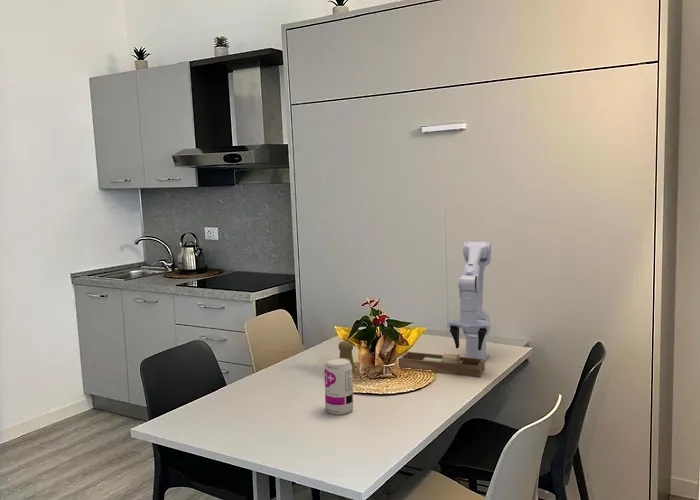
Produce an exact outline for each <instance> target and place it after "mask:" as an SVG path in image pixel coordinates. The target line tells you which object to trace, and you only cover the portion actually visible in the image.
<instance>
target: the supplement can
mask: <svg viewBox="0 0 700 500" xmlns="http://www.w3.org/2000/svg"><path fill="white" fill-rule="evenodd" d="M353 381H354V380H353V374H352V365H351V363H350V360H348V359H345V358H339V357H334V358H329V359H328V360H326V362H325V364H324V400H325V401H324V403H325V410H326V411H327V412H328V413H329V414H331V415H334V416H335V415H336V416H337V415H338V416H340V415H341V416H342V415H347V414H349V413H351V411H352V410H353V409H354V393H353V391H354V390H353V384H354V383H353Z"/></svg>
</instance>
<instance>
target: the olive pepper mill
mask: <svg viewBox="0 0 700 500" xmlns="http://www.w3.org/2000/svg"><path fill="white" fill-rule="evenodd" d="M346 341H347V340H343V341H340V342H339V343H338V350H339V357H338V358H345V359H348V360H350V363H351V365H352V375H353V374H355V372H356V371H355V364H354V357H353V349H354V344H353V343H352V344H353V345H352V344H350V343H348V342H346Z"/></svg>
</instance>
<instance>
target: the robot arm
mask: <svg viewBox="0 0 700 500" xmlns="http://www.w3.org/2000/svg"><path fill="white" fill-rule="evenodd" d="M462 249H463V250H462V254H463V258H464V261H465V264H464V266H463V270H462V274H461V276H458V281H457V283H458V284H457V285H458V287H457V288H458V293H459V295H458V296H459V311H460V312H459V320H458V319H457V320H451V319H450V320H447V321H446V327H447V328H449V332H450V334H451V336H452V339H453V341H454V345H455V346H454V347H455V349H459V348H460V328H461V332H462V334H463V335H464V337H465V356H464V357H469V358H479V359H485V361H486V360H487V359H488V357H489V354H488V353H487V338H486V336H488V335H489V334H490V330H491V322H490V315H489V313H487V312H486V311H485V310H484V309H483V302H484V301H483V298H484V297H483V296H484V274H485V269H486V266H489V265H490V264H491V261H492V259H491V258H492V243H491V242H490V241H468V240H466V241H464V242H463V248H462Z"/></svg>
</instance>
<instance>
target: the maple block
mask: <svg viewBox="0 0 700 500" xmlns="http://www.w3.org/2000/svg"><path fill="white" fill-rule="evenodd" d="M442 355H443V356H442V359H443V362H445V363H456V364H458V363H459V362H460V357H461V356H460V353H455V352H447V351H446V352H445V353H444V354H442Z"/></svg>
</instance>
